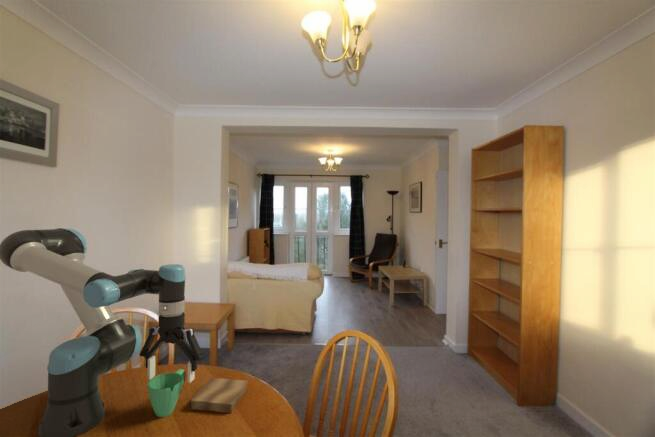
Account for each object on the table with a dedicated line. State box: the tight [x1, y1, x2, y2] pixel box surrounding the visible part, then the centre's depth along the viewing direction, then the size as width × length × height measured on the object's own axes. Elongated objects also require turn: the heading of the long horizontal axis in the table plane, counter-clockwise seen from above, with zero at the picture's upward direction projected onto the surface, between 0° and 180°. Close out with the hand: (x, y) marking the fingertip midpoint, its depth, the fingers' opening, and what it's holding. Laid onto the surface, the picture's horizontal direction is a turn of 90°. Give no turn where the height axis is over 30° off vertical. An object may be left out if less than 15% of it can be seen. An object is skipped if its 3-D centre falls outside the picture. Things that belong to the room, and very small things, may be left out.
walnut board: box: [189, 377, 249, 414], centre depth 106 cm, size 14×14×3 cm
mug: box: [146, 368, 187, 418], centre depth 100 cm, size 15×10×10 cm
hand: (171, 379), depth 100 cm, fingers open, 13 cm apart
